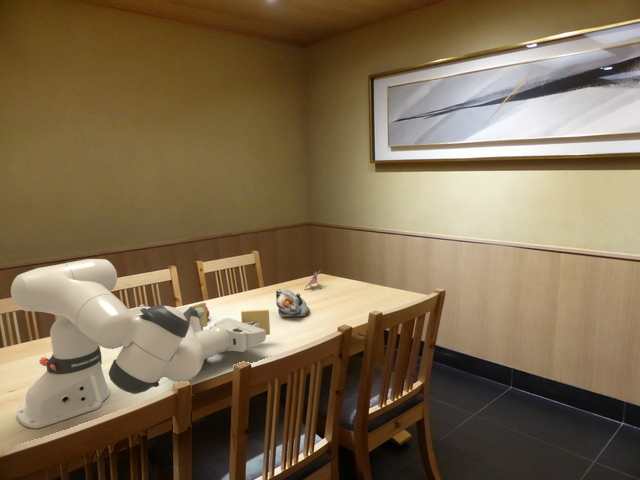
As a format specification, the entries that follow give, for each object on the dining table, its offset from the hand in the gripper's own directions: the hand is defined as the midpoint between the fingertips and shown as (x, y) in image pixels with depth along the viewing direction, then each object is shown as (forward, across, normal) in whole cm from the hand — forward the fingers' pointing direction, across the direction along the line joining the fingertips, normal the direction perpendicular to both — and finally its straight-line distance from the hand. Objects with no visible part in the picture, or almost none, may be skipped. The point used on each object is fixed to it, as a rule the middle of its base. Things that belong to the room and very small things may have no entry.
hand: (257, 324), depth 160 cm
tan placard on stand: (-1, -3, -7) cm, 7 cm away
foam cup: (-24, -35, -9) cm, 44 cm away
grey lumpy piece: (+31, -12, -8) cm, 34 cm away
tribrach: (-15, -16, -8) cm, 23 cm away
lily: (+67, -31, -8) cm, 74 cm away
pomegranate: (+4, -39, -9) cm, 40 cm away
